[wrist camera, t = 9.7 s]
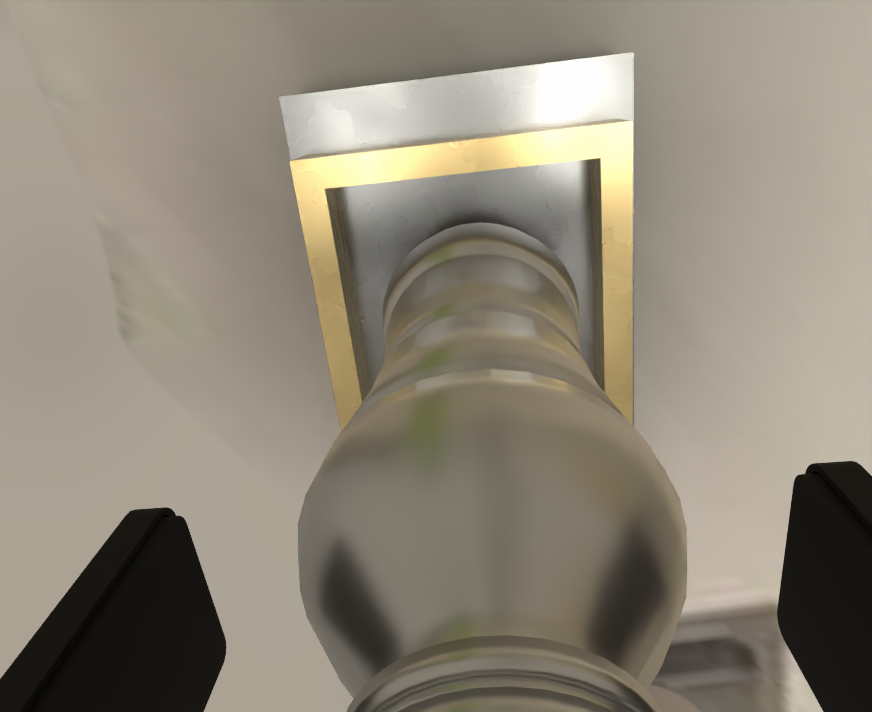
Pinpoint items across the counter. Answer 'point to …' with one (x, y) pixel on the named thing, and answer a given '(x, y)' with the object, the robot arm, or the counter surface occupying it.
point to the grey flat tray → (469, 196)
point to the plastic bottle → (490, 504)
